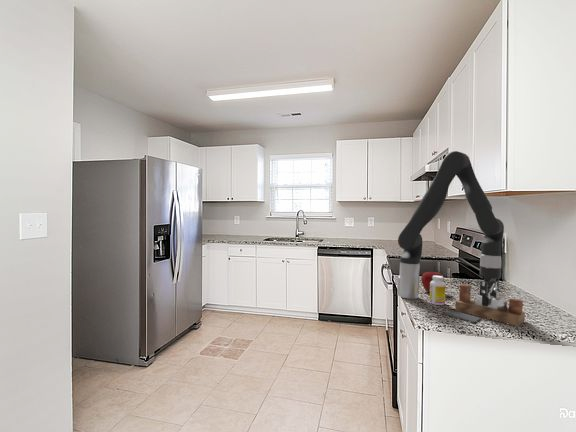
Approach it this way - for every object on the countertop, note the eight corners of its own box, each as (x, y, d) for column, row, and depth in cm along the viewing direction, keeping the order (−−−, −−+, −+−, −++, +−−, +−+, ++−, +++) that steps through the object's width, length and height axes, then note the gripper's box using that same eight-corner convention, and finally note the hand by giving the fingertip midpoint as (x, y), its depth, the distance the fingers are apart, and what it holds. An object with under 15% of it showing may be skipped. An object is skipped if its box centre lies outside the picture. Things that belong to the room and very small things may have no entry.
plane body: (455, 310, 139) (456, 285, 139) (463, 306, 145) (464, 282, 144) (517, 326, 121) (519, 298, 120) (525, 321, 127) (526, 294, 126)
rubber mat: (443, 314, 133) (443, 313, 133) (450, 311, 138) (450, 309, 137) (474, 323, 124) (474, 321, 124) (481, 319, 128) (481, 317, 128)
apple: (439, 290, 172) (439, 269, 172) (446, 295, 162) (447, 273, 161) (418, 289, 173) (418, 268, 173) (424, 294, 163) (425, 272, 162)
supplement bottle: (448, 304, 147) (449, 277, 147) (439, 306, 144) (440, 278, 143) (435, 300, 153) (436, 274, 152) (426, 302, 150) (427, 275, 149)
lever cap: (475, 304, 134) (476, 295, 134) (480, 302, 137) (481, 293, 137) (504, 311, 126) (505, 301, 126) (509, 309, 129) (509, 299, 129)
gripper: (487, 262, 139) (485, 298, 140) (473, 266, 131) (472, 304, 131) (506, 265, 134) (505, 303, 134) (494, 269, 125) (492, 309, 125)
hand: (489, 303), depth 133 cm, fingers open, 8 cm apart
